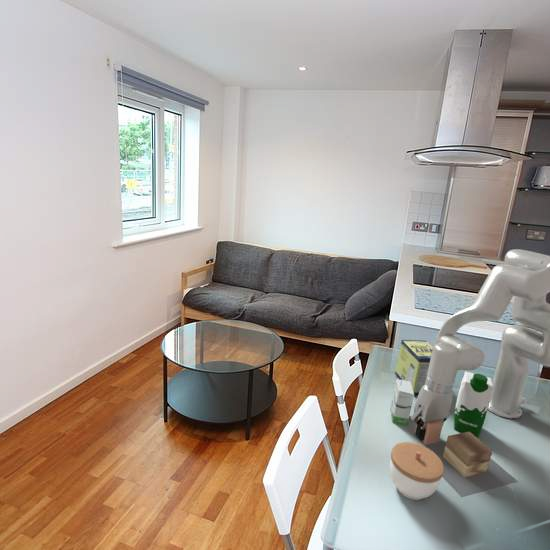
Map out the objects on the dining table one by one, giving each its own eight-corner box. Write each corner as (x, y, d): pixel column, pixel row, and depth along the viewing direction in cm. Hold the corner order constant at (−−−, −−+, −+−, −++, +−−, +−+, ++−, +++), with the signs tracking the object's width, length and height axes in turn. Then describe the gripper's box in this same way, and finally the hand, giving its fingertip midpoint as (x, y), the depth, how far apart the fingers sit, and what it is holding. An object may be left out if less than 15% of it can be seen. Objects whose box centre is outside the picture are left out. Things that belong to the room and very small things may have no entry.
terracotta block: (426, 431, 121) (431, 412, 119) (438, 442, 117) (443, 423, 115) (414, 434, 120) (418, 415, 118) (425, 445, 115) (429, 425, 113)
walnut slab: (466, 441, 112) (469, 431, 111) (489, 461, 105) (492, 450, 104) (445, 446, 110) (447, 435, 109) (467, 466, 102) (470, 455, 101)
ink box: (407, 426, 123) (414, 394, 120) (392, 423, 124) (398, 391, 120) (404, 411, 131) (411, 380, 128) (389, 408, 132) (396, 377, 129)
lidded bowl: (431, 518, 90) (441, 480, 87) (379, 492, 96) (386, 455, 93) (440, 484, 101) (449, 449, 98) (392, 462, 107) (400, 429, 104)
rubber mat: (465, 438, 120) (466, 437, 120) (517, 482, 104) (518, 481, 104) (414, 448, 113) (414, 447, 113) (461, 498, 97) (461, 496, 97)
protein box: (417, 374, 157) (425, 339, 153) (438, 396, 142) (447, 358, 138) (394, 374, 155) (401, 339, 151) (412, 396, 140) (420, 358, 136)
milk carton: (450, 431, 123) (465, 376, 117) (451, 416, 131) (464, 363, 125) (481, 441, 119) (497, 384, 114) (479, 425, 127) (494, 371, 122)
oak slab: (463, 451, 113) (466, 441, 112) (486, 471, 106) (489, 461, 105) (442, 456, 111) (445, 446, 110) (464, 477, 103) (467, 466, 102)
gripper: (451, 374, 119) (439, 424, 124) (407, 380, 113) (396, 432, 118) (470, 388, 113) (457, 440, 118) (424, 394, 107) (412, 449, 112)
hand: (426, 435), depth 118 cm, fingers closed on terracotta block, 5 cm apart
